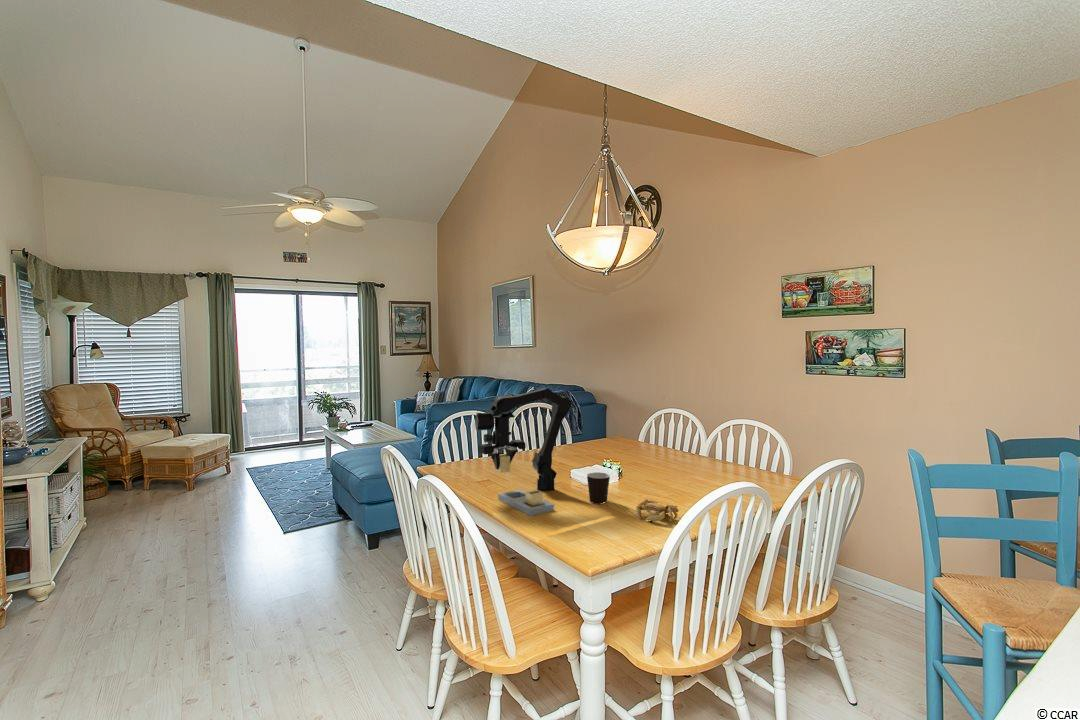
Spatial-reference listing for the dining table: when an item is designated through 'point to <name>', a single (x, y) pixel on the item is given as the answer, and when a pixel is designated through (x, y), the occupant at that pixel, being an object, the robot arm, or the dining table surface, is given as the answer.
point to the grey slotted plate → (524, 503)
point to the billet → (503, 464)
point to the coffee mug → (598, 486)
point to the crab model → (658, 508)
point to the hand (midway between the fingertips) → (502, 468)
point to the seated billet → (534, 498)
